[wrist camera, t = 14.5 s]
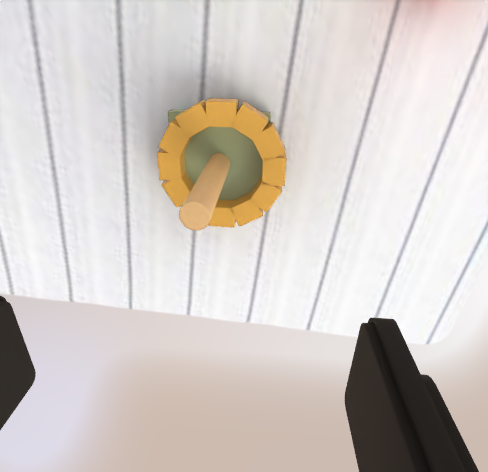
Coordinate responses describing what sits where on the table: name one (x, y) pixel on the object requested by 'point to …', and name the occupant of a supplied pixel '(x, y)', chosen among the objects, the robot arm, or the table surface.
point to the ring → (247, 124)
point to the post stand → (217, 170)
